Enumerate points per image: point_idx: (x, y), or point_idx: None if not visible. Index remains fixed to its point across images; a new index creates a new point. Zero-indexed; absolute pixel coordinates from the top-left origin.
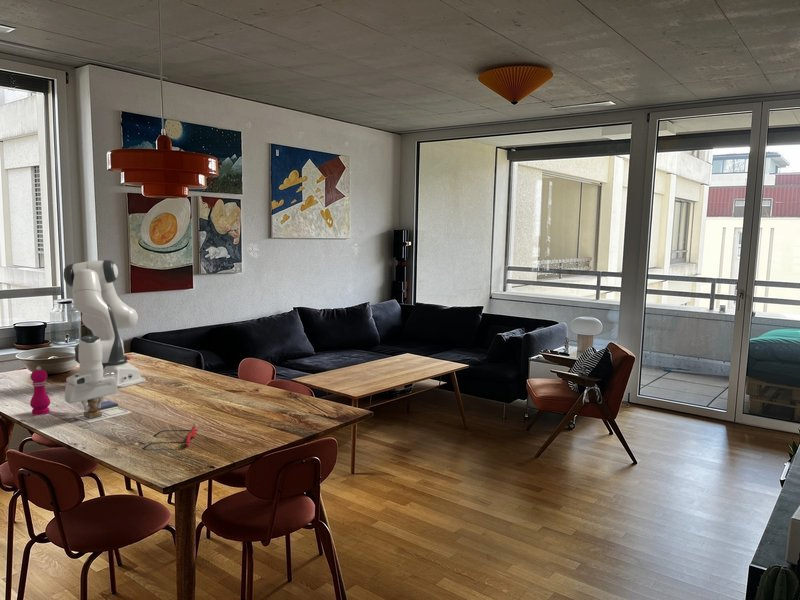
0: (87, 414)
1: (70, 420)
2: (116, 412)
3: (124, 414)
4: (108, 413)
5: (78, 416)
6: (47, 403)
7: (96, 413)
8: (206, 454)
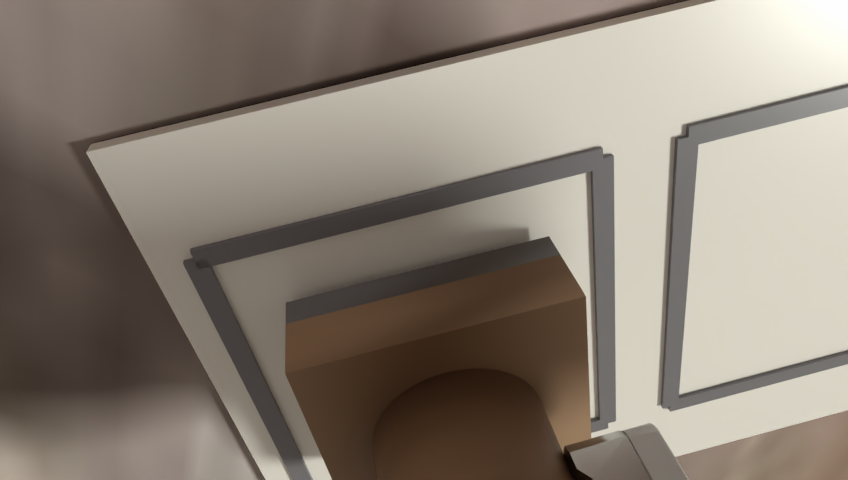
0: (333, 471)
1: (4, 317)
2: (830, 303)
3: (829, 407)
4: (719, 295)
5: (184, 192)
6: None
7: None
8: None
